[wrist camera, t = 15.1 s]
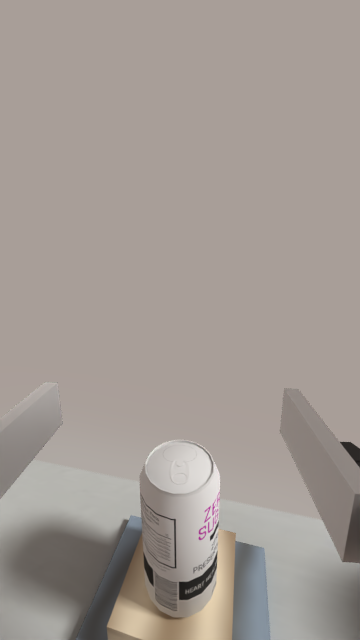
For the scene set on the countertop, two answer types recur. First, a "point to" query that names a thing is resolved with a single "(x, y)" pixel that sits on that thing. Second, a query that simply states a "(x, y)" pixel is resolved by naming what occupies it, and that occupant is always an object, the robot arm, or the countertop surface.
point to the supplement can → (180, 526)
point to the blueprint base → (243, 589)
